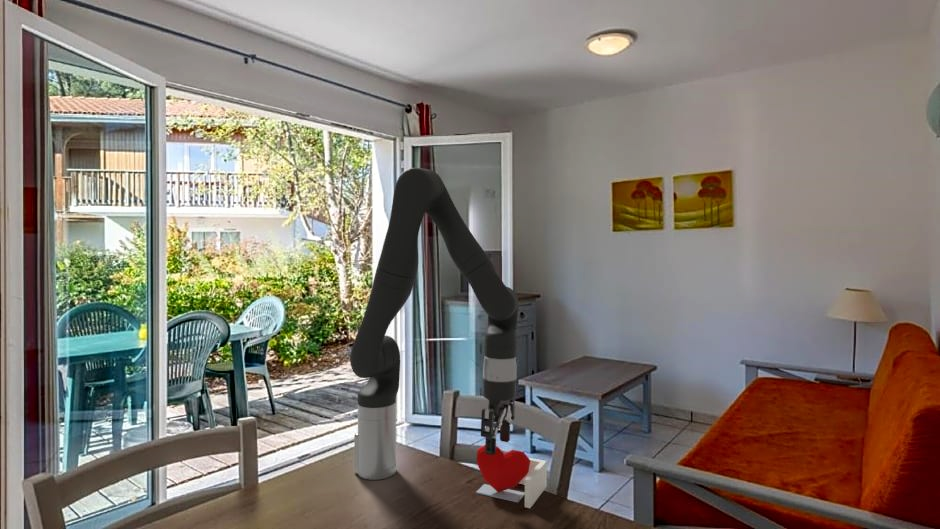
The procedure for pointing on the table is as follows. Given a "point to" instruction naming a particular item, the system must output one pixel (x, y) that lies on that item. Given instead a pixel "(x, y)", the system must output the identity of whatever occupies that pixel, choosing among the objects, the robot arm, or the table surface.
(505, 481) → the heart
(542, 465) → the corner walls
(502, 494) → the pad
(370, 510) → the table surface
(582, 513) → the table surface
